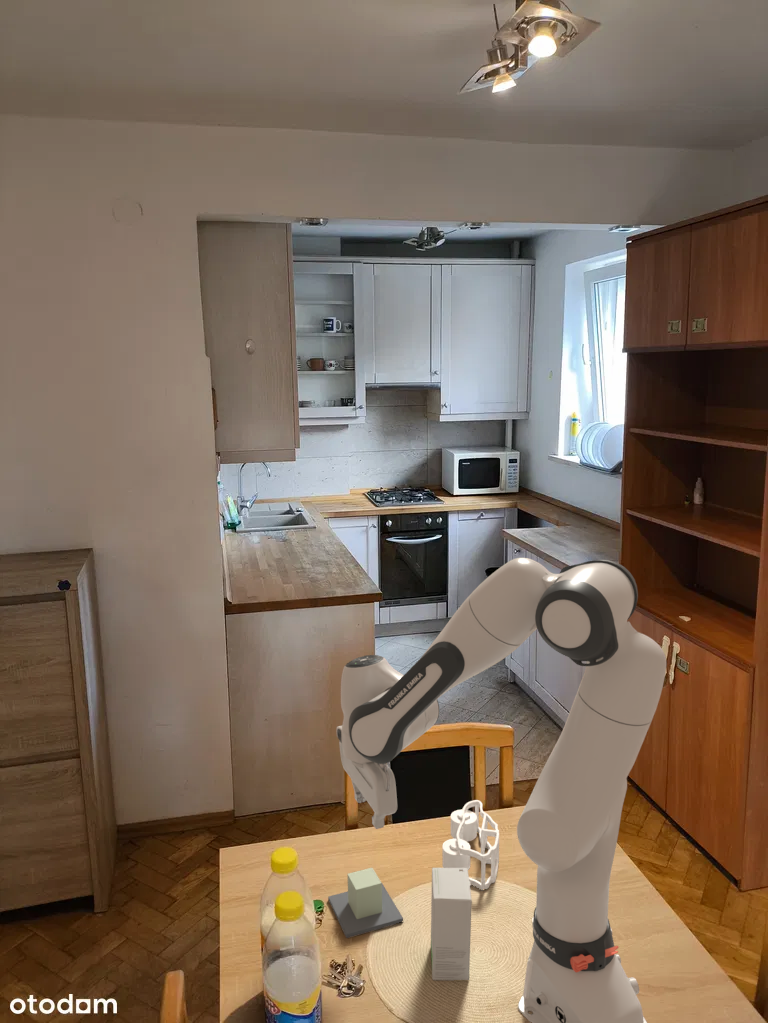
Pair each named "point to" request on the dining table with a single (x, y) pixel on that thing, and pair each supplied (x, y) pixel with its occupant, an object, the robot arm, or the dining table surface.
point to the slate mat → (365, 924)
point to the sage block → (364, 893)
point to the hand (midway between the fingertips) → (369, 813)
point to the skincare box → (450, 923)
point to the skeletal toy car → (466, 830)
